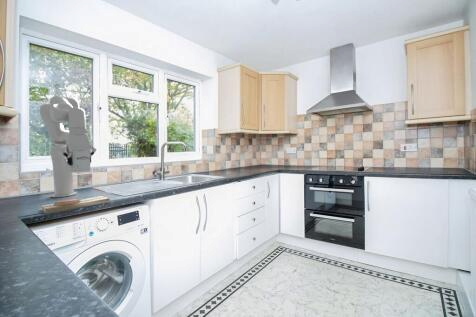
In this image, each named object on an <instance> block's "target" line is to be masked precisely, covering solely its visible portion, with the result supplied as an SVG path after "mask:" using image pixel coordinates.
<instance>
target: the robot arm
mask: <svg viewBox="0 0 476 317" xmlns="http://www.w3.org/2000/svg"><path fill="white" fill-rule="evenodd" d="M39 116H40V118H41V120H42V121H43V123H44V125H45V127H46V128H47V133H48V137H49V140H50V144H52V146H51V147H50V149H49V154H50V158H51V163H52V175H53V186H54V187H53V189H54V193H53V194H51V197H52V198H63V197H71V196H74V195H77V191H74V180H73V179H74V178H73V177H74V176H73V174H74V173H72V172H69V165H72V158H71V155H72V153H73V149H77V148H89V151H90V164H91V163H92V156H93V155H94V154H95V153H96V151H97V148H95V147H94V146H92V145H91V143H90V138H89V135H88V133H89V132H90V131H89V129H87V124H86V123H87V122H86V111H85V110H84V109H83V108H80V104H79V100H78V99H77V98H75V97H70V96H69V97H68V96H64V95H63V96H60V95H55V96H52V97H50V100H49V103H44V104H42V105H40V107H39ZM64 124H67V125H68V130H65V127H64ZM68 150H69V152H68Z"/></svg>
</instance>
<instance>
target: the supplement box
mask: <svg viewBox="0 0 476 317" xmlns="http://www.w3.org/2000/svg"><path fill="white" fill-rule="evenodd" d="M68 152H69V150H68ZM90 153H91V150H90V151H89V148H77V149H73V153H72V155H71V158H72V165H69V172H72V174H74V173H87V172H88V173H89V172H92V171H91V163H90Z"/></svg>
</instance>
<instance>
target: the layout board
mask: <svg viewBox="0 0 476 317" xmlns="http://www.w3.org/2000/svg"><path fill="white" fill-rule="evenodd" d="M110 201H111V200H110V198H109V197H106V196H104V195H100V196H92V197H87V198H81V199H79V198H73V199H72V198H71V199H63V200H59V201H56V202H54V203H50V204H43V205H41V206H40V208H41V211H42V212H43V213H45V214H46V215H48V214H51V213H52V214H53V213H58V212H63V211H68V210H75V209H80V208H85V207H90V206H97V205H101V204H102V205H103V204H107V203H110Z"/></svg>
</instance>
